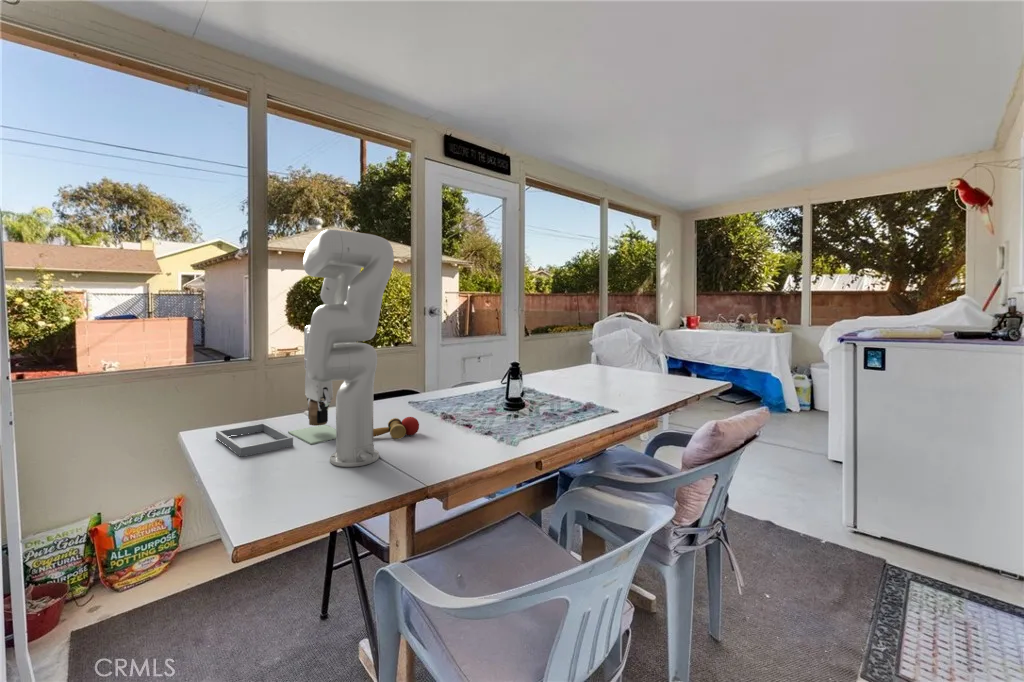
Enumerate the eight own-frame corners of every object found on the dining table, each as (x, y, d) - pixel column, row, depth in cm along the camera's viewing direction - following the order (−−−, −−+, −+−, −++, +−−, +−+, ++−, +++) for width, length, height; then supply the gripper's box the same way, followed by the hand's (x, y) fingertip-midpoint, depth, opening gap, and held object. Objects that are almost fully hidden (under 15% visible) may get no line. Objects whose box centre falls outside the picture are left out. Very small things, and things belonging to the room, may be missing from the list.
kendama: (364, 448, 134) (423, 434, 142) (360, 427, 134) (419, 414, 142) (361, 445, 141) (418, 432, 149) (358, 425, 142) (414, 413, 149)
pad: (348, 436, 141) (348, 434, 141) (310, 444, 132) (310, 442, 132) (325, 425, 152) (325, 424, 151) (288, 433, 143) (288, 431, 143)
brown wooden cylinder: (329, 423, 142) (329, 401, 141) (313, 426, 138) (313, 404, 137) (322, 420, 145) (322, 398, 145) (306, 423, 141) (306, 401, 141)
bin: (293, 446, 130) (292, 437, 130) (240, 457, 120) (240, 448, 120) (264, 430, 145) (264, 422, 144) (216, 439, 134) (216, 431, 134)
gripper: (342, 366, 137) (342, 424, 139) (317, 359, 148) (317, 413, 150) (318, 368, 131) (318, 429, 133) (293, 361, 143) (294, 417, 144)
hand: (318, 420), depth 142 cm, fingers closed on brown wooden cylinder, 5 cm apart
